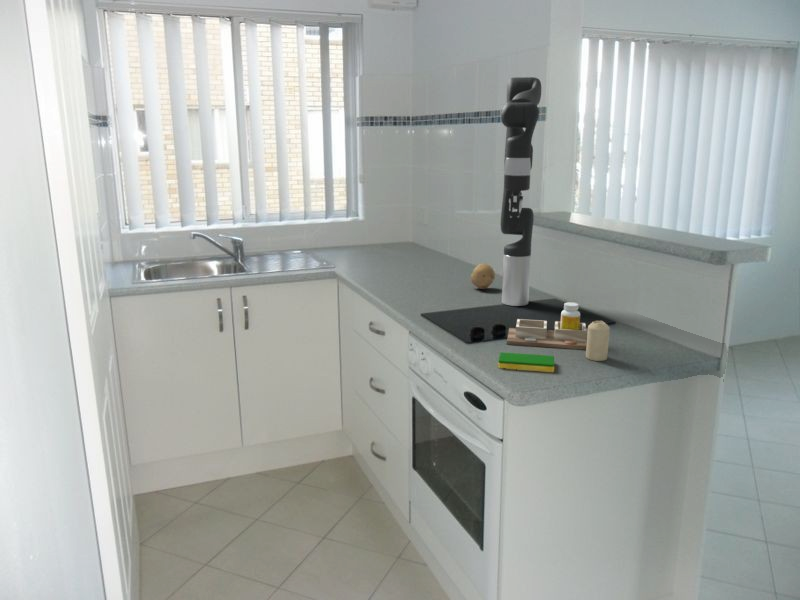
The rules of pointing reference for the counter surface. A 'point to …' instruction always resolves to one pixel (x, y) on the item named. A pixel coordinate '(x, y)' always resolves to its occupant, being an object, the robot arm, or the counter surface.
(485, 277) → the potato
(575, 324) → the supplement bottle
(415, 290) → the counter surface
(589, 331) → the candle
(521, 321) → the socket board
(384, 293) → the counter surface
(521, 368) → the dish sponge
